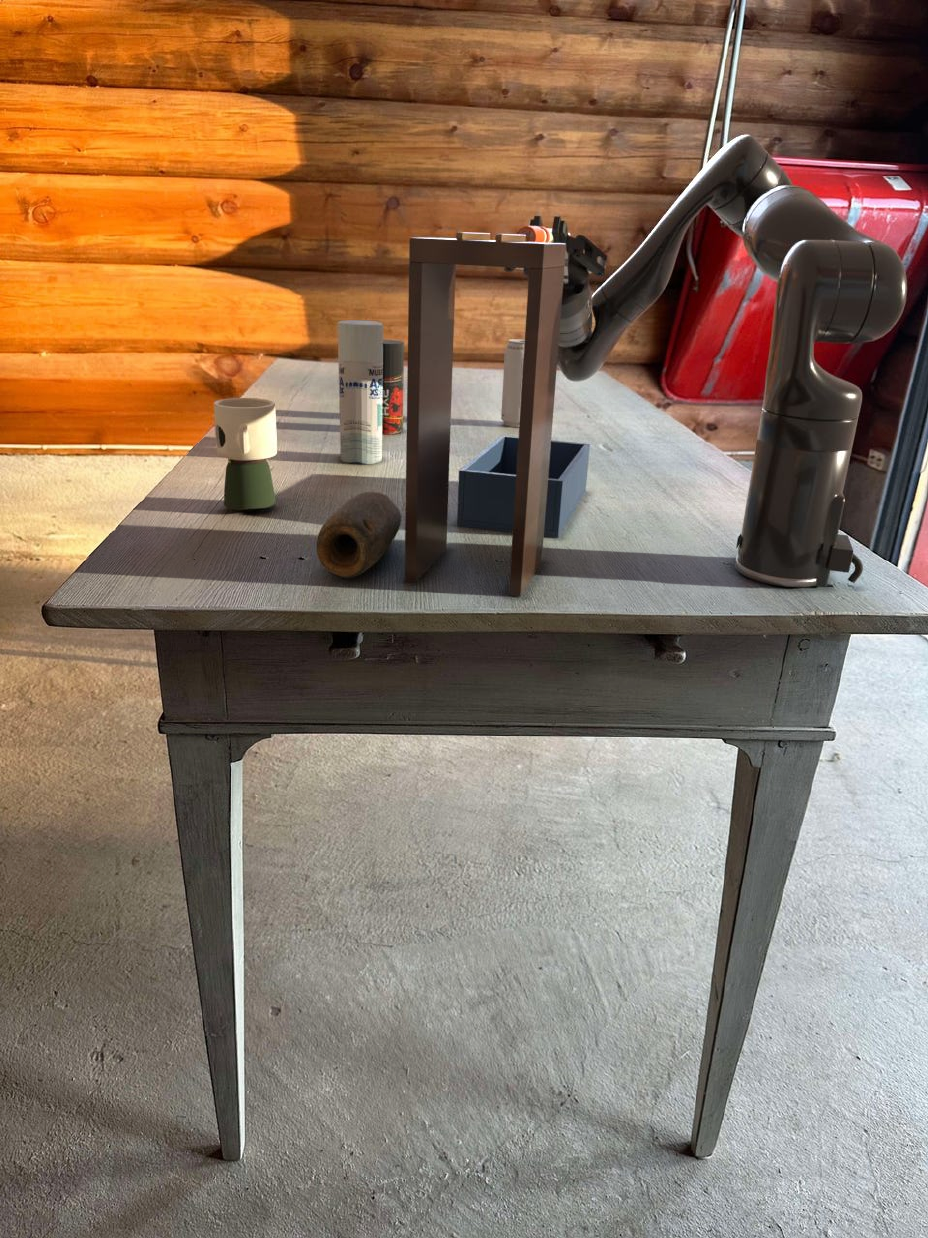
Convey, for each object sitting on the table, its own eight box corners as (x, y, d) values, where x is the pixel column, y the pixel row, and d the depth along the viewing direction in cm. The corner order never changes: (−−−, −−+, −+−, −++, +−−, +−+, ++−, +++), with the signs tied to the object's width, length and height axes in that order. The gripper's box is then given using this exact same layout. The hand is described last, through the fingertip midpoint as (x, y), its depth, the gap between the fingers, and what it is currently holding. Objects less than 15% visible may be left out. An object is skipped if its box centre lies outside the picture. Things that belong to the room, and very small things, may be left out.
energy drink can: (515, 420, 173) (520, 338, 167) (539, 425, 169) (545, 341, 163) (494, 423, 169) (498, 339, 163) (518, 429, 165) (524, 343, 159)
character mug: (223, 496, 117) (216, 394, 112) (280, 496, 118) (275, 394, 113) (217, 521, 107) (209, 410, 102) (278, 521, 109) (274, 411, 104)
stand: (541, 561, 99) (566, 236, 86) (520, 597, 89) (545, 235, 76) (436, 548, 102) (445, 231, 89) (404, 581, 92) (409, 229, 79)
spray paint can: (345, 453, 142) (344, 319, 134) (386, 456, 142) (387, 321, 134) (334, 462, 136) (332, 323, 129) (377, 465, 136) (377, 325, 128)
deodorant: (372, 434, 156) (372, 343, 150) (366, 427, 161) (365, 339, 155) (406, 433, 158) (407, 343, 152) (398, 426, 163) (399, 339, 157)
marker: (535, 248, 97) (537, 225, 96) (515, 247, 97) (516, 225, 96) (563, 246, 112) (564, 227, 111) (545, 245, 113) (546, 226, 112)
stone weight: (383, 587, 90) (384, 522, 87) (313, 582, 90) (311, 518, 88) (403, 540, 104) (404, 482, 101) (342, 536, 104) (342, 479, 102)
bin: (585, 492, 126) (590, 443, 124) (558, 537, 107) (562, 481, 104) (498, 483, 129) (501, 435, 127) (456, 525, 110) (458, 470, 107)
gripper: (516, 265, 124) (493, 190, 108) (617, 270, 121) (610, 194, 105) (507, 317, 124) (483, 250, 107) (608, 323, 121) (600, 255, 104)
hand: (546, 222), depth 106 cm, fingers closed on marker, 2 cm apart
